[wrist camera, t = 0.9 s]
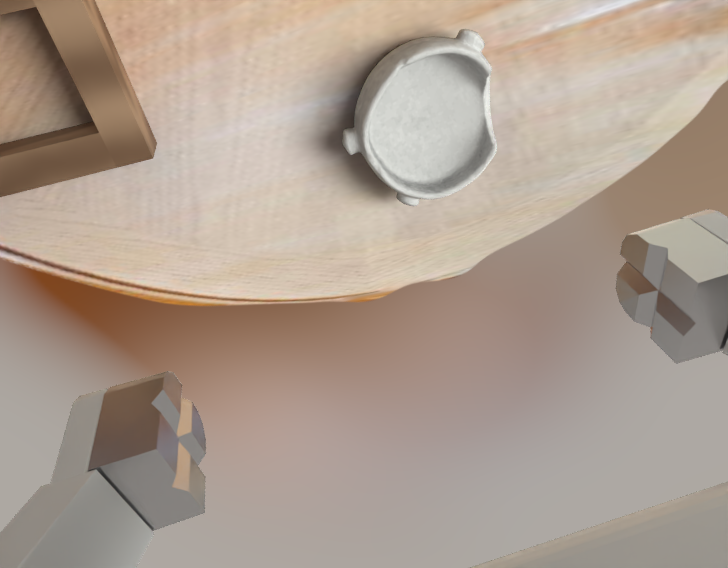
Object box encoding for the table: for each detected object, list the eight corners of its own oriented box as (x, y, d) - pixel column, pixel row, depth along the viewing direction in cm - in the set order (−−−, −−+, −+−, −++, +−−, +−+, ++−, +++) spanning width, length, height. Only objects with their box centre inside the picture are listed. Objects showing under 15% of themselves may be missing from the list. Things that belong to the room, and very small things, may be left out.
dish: (453, -1, 45) (475, 9, 41) (508, 130, 53) (531, 148, 49) (313, 97, 47) (322, 115, 43) (386, 208, 55) (400, 232, 51)
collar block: (-152, -9, 36) (-183, -2, 33) (69, -58, 37) (57, -55, 34) (-17, 186, 45) (-33, 205, 42) (156, 143, 46) (153, 158, 43)
